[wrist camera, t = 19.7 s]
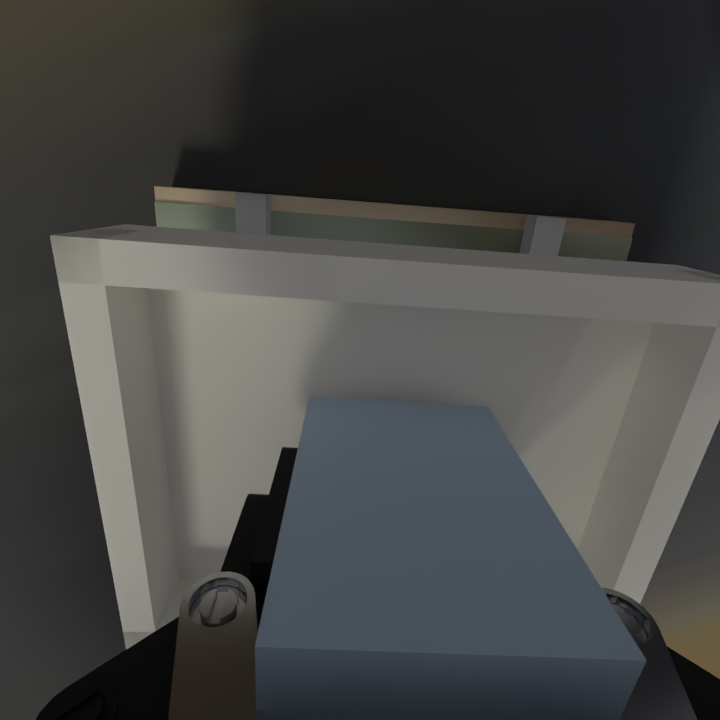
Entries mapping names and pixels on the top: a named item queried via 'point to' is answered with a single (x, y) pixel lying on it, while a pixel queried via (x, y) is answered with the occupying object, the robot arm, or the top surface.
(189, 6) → the top surface
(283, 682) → the blue block
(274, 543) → the robot arm
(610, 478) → the white shallow tray
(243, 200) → the rail board
